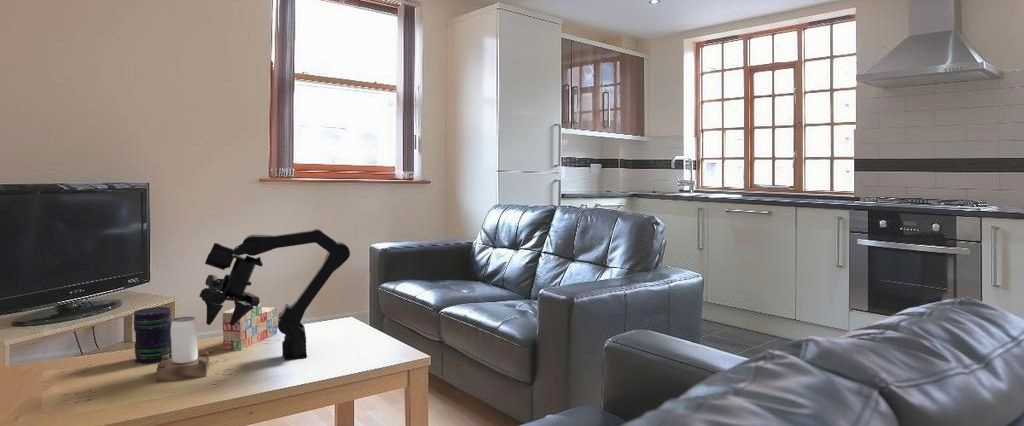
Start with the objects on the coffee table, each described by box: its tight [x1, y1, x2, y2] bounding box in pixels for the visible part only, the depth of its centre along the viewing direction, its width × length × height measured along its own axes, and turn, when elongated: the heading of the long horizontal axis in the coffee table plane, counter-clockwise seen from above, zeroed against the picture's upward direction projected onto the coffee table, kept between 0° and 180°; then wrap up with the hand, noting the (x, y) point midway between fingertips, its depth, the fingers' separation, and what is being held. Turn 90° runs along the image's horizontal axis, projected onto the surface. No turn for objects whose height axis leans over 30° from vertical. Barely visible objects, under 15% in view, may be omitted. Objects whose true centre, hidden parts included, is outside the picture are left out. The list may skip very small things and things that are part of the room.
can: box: [170, 316, 199, 364], centre depth 176 cm, size 6×6×12 cm
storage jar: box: [133, 306, 172, 365], centre depth 189 cm, size 10×10×15 cm
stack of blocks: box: [222, 304, 278, 351], centre depth 209 cm, size 21×6×12 cm, turn 170°
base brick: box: [156, 350, 210, 382], centre depth 176 cm, size 12×10×4 cm
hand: (219, 324), depth 185 cm, fingers open, 9 cm apart
